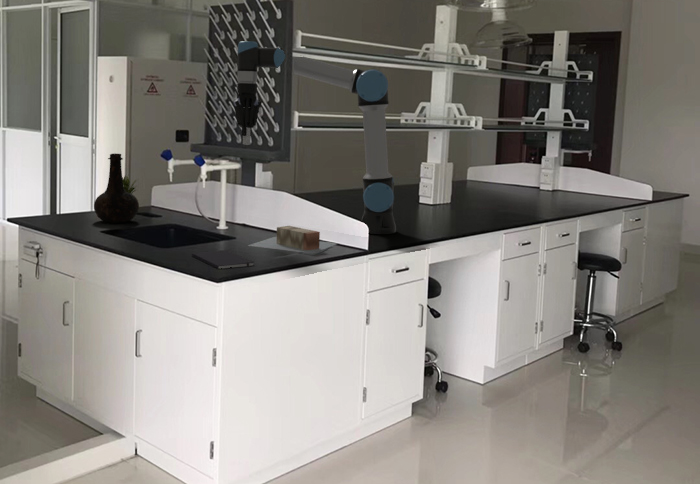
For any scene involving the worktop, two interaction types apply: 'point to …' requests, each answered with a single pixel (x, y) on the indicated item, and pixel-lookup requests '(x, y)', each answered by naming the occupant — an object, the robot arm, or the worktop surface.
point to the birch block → (298, 237)
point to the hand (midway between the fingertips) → (246, 144)
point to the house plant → (126, 185)
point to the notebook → (222, 259)
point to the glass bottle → (116, 197)
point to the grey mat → (273, 245)
